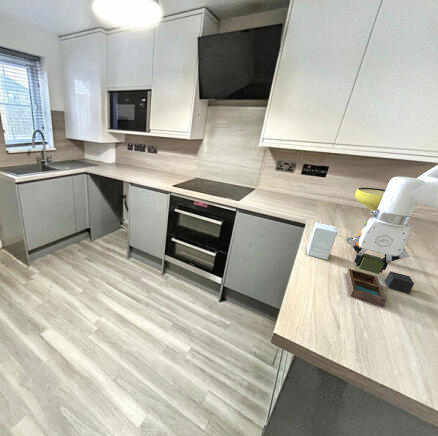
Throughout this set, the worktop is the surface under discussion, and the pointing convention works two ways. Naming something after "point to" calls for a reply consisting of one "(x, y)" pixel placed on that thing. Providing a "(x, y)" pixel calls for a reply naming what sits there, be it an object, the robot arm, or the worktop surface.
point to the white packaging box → (321, 240)
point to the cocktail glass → (369, 198)
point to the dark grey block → (399, 282)
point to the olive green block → (371, 263)
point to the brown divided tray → (365, 287)
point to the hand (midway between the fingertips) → (368, 267)
